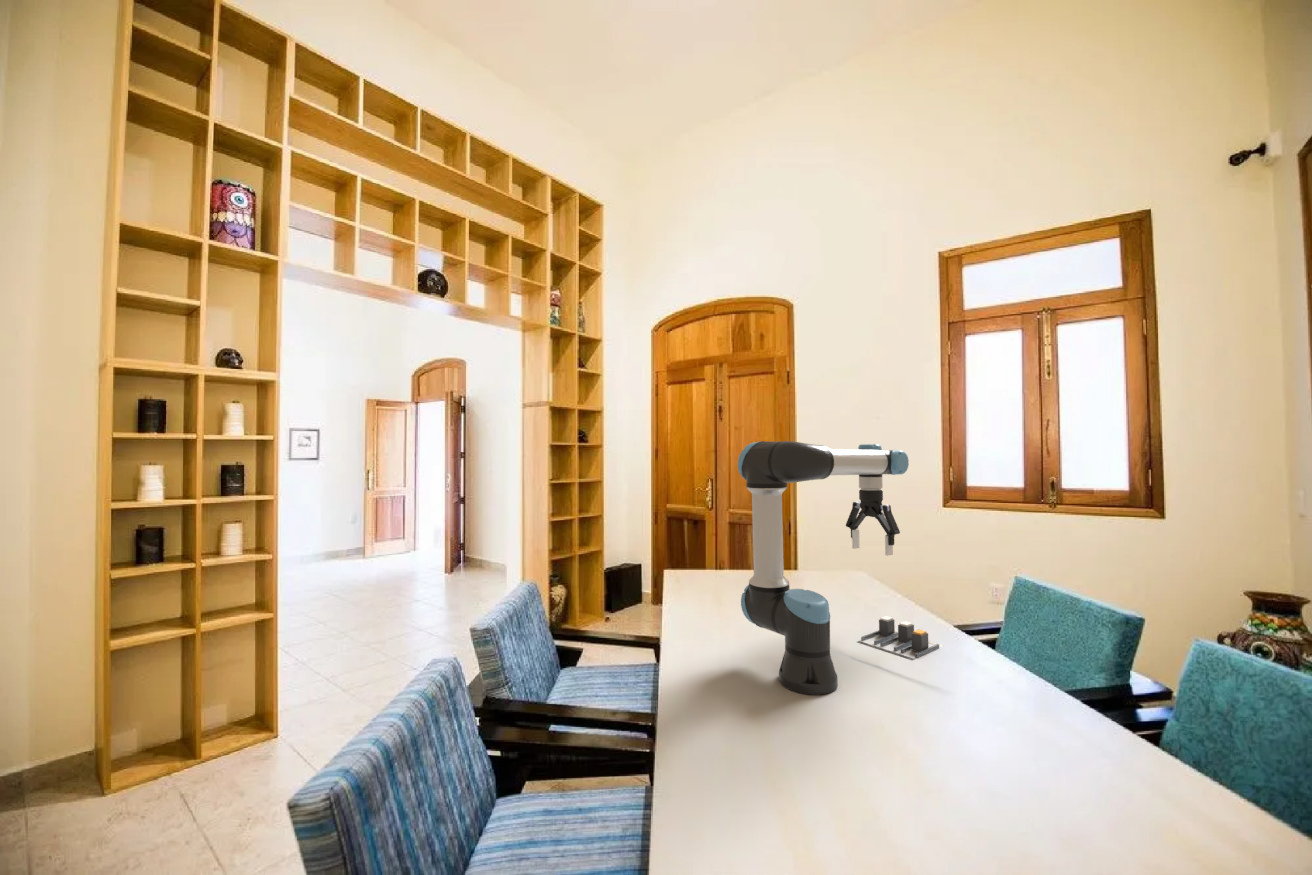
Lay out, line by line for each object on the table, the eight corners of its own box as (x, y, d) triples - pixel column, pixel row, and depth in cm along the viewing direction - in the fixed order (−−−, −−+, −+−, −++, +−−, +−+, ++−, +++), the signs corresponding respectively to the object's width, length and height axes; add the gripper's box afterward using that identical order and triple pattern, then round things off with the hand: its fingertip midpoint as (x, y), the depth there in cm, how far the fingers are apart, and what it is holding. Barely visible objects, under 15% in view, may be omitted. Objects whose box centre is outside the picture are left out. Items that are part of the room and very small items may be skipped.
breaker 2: (907, 643, 164) (907, 625, 164) (898, 640, 166) (898, 623, 166) (914, 640, 166) (913, 623, 166) (905, 638, 169) (904, 620, 169)
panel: (908, 668, 148) (908, 660, 148) (846, 647, 164) (846, 640, 164) (953, 647, 163) (952, 640, 163) (891, 630, 180) (891, 623, 180)
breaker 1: (887, 637, 169) (887, 620, 169) (879, 635, 172) (878, 617, 172) (894, 635, 171) (894, 617, 172) (886, 632, 174) (885, 615, 174)
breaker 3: (921, 653, 156) (921, 634, 156) (911, 650, 159) (911, 631, 159) (928, 650, 159) (928, 631, 159) (918, 647, 161) (918, 628, 161)
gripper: (910, 491, 171) (912, 556, 170) (849, 486, 193) (850, 544, 192) (895, 492, 167) (896, 559, 167) (834, 487, 189) (835, 546, 189)
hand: (872, 551), depth 179 cm, fingers open, 13 cm apart
